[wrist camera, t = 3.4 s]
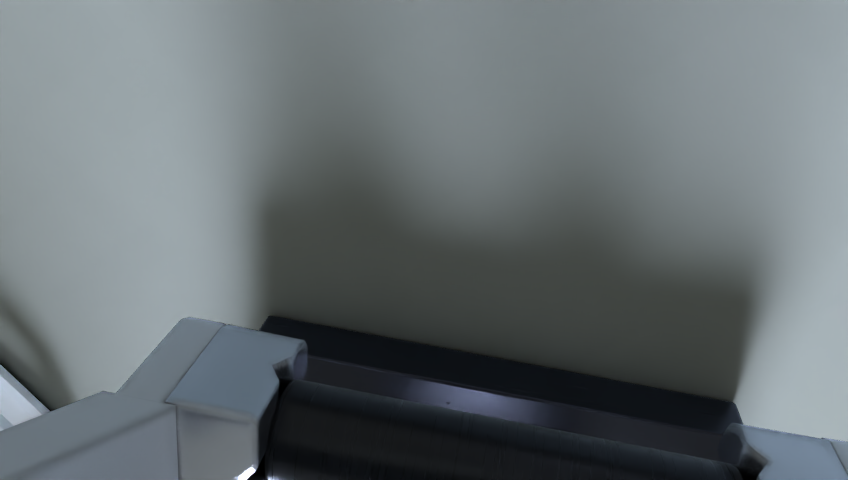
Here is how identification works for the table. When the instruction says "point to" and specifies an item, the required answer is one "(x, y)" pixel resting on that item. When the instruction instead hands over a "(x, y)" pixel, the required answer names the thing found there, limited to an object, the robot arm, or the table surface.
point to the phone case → (16, 402)
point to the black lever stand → (512, 390)
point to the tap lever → (447, 445)
